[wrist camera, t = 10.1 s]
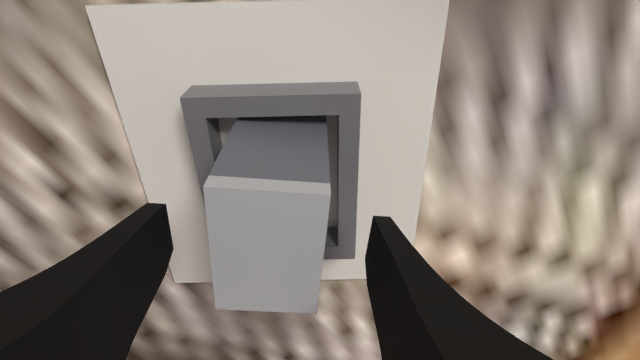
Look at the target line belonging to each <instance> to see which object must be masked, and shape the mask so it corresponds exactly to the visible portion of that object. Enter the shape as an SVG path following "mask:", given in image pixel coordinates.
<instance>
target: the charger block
mask: <svg viewBox="0 0 640 360" xmlns="http://www.w3.org/2000/svg"><path fill="white" fill-rule="evenodd" d="M203 190H204V200H205V210H206V221H207V231H208V241H209V251H210V262H211V272H212V282H213V292H214V302H215V309H225V310H245V311H266V312H286V313H307V314H317V308H318V299H319V291H320V283H321V274H322V266H323V258H324V249H325V241H326V233H327V224H328V216H329V207H330V199H331V187H330V170H329V154H328V137H327V121H326V115H316V116H274V117H237V119H236V121H235V123H234V125H233V127H232V129H231V131H230V133H229V135H228V137H227V139H226V141H225V143H224V145H223V147H222V149H221V151H220V153H219V155H218V157H217V159H216V162H215V164H214V166H213V168H212V170H211V172H210V174H209V176H208V178H207V180H206V182H205V184H204V186H203Z"/></svg>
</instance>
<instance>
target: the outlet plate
mask: <svg viewBox="0 0 640 360" xmlns="http://www.w3.org/2000/svg"><path fill="white" fill-rule="evenodd" d="M449 1H450V0H255V1H216V2H176V3H137V4H98V5H87V6H85V8H86V11H87V14H88V17H89V20H90V23H91V26H92V29H93V32H94V35H95V38H96V42H97V45H98V48H99V51H100V54H101V57H102V60H103V63H104V66H105V69H106V72H107V75H108V78H109V82H110V85H111V88H112V91H113V94H114V97H115V100H116V103H117V106H118V109H119V112H120V115H121V118H122V122H123V125H124V128H125V131H126V134H127V137H128V140H129V143H130V146H131V149H132V152H133V155H134V159H135V162H136V165H137V168H138V171H139V174H140V177H141V180H142V183H143V186H144V189H145V192H146V195H147V199H148V202H149V203H161V204H166V207H167V213H168V219H169V225H170V230H171V236H172V242H173V248H174V249H173V252H172V256H171V259H170V262H169V266H170V269H171V272H172V276H173V279H174V282H175V283H200V282H212V272H211V262H210V251H209V241H208V231H207V221H206V210H205V200H204V190H203V186H204V184H205V182H206V180H207V178H208V176H209V174H210V172H211V170H212V168H213V166H214V164H215V162H216V159H217V157H218V155H219V153H220V151H221V149H222V147H223V145H224V143H225V141H226V139H227V137H228V135H229V133H230V131H231V129H232V127H233V125H234V123H235V121H236V119H237V117H274V116H316V115H326V121H327V137H328V154H329V170H330V187H331V199H330V207H329V216H328V224H327V233H326V241H325V249H324V258H323V266H322V274H321V280H336V279H366V268H365V255H366V250H367V245H368V239H369V234H370V229H371V224H372V219H373V216H388V217H391V218H392V219H393V221H394V222H395V223H396V225H397V226H398V227H399V229H400V230H401V231H402V233H403V234H404V235H405V236H406V238H407V239H408V240H409V242H410V243H411V244H412V245H413V246H414V239H415V233H416V226H417V219H418V212H419V205H420V199H421V192H422V185H423V178H424V171H425V165H426V158H427V151H428V144H429V137H430V131H431V124H432V117H433V110H434V103H435V96H436V90H437V83H438V76H439V69H440V62H441V56H442V49H443V42H444V35H445V28H446V22H447V15H448V8H449Z"/></svg>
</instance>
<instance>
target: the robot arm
mask: <svg viewBox="0 0 640 360" xmlns="http://www.w3.org/2000/svg"><path fill="white" fill-rule="evenodd" d="M173 249H174V248H173V242H172V236H171V230H170V225H169V219H168V213H167V207H166V204H161V203H147V204H145V205H144V206H142V207H141V208H139V209H138V210H137V211H135V212H134V213H132V214H131V215H130V216H128V217H127V218H125V219H124V220H123V221H121V222H120V223H118V224H117V225H116V226H114V227H113V228H111V229H110V230H108V231H107V232H106V233H104V234H103V235H101V236H100V237H98V238H97V239H95V240H94V241H92V242H91V243H89V244H88V245H86V246H85V247H83V248H81V249H80V250H78V251H77V252H75V253H74V254H72V255H71V256H69V257H67V258H66V259H64V260H62V261H60V262H59V263H57V264H55V265H53V266H52V267H50V268H48V269H46V270H44V271H42V272H41V273H39V274H37V275H35V276H33V277H31V278H29V279H27V280H25V281H23V282H21V283H19V284H16V285H14V286H12V287H10V288H8V289H6V290H4V291H2V292H0V360H126V357H127V355H128V352H129V349H130V347H131V344H132V342H133V340H134V337H135V335H136V333H137V331H138V329H139V327H140V325H141V323H142V321H143V319H144V317H145V315H146V313H147V311H148V309H149V307H150V305H151V303H152V301H153V299H154V297H155V295H156V293H157V290H158V288H159V286H160V284H161V282H162V280H163V278H164V276H165V273H166V271H167V268H168V265H169V262H170V259H171V256H172V252H173ZM365 268H366V279H367V287H368V292H369V297H370V301H371V306H372V311H373V315H374V320H375V325H376V329H377V334H378V339H379V344H380V349H381V356H382V360H553V359H551V358H550V357H548V356H546V355H545V354H543V353H541V352H539V351H538V350H536V349H534V348H533V347H531V346H529V345H528V344H526V343H524V342H523V341H521V340H520V339H518V338H517V337H515V336H514V335H512V334H511V333H509V332H508V331H506V330H505V329H503V328H502V327H500V326H499V325H497V324H496V323H495V322H493V321H492V320H490V319H489V318H488V317H486V316H485V315H484V314H483V313H481V312H480V311H479V310H477V309H476V308H475V307H474V306H472V305H471V304H470V303H469V302H467V301H466V300H465V299H464V298H463V297H462V296H460V295H459V294H458V293H457V292H456V291H455V290H454V289H453V288H452V287H450V286H449V285H448V284H447V283H446V282H445V281H444V280H443V279H442V278H441V277H440V276H439V275H438V274H437V273H436V272H435V271H434V270H433V269H432V267H431V266H430V265H429V264H428V263H427V262H426V261H425V260H424V259H423V257H422V256H421V255H420V254H419V253H418V251H417V250H416V249H415V248H414V247H413V245H412V244H411V243H410V242H409V240H408V239H407V238H406V236H405V235H404V234H403V233H402V231H401V230H400V229H399V227H398V226H397V225H396V223H395V222H394V221H393V219H392V218H391V217H388V216H373V219H372V224H371V229H370V234H369V239H368V245H367V250H366V255H365Z"/></svg>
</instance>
